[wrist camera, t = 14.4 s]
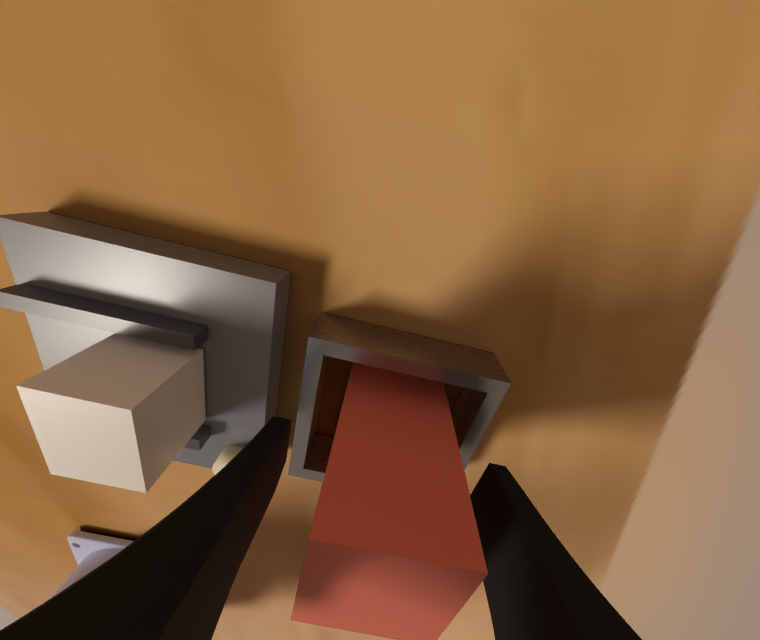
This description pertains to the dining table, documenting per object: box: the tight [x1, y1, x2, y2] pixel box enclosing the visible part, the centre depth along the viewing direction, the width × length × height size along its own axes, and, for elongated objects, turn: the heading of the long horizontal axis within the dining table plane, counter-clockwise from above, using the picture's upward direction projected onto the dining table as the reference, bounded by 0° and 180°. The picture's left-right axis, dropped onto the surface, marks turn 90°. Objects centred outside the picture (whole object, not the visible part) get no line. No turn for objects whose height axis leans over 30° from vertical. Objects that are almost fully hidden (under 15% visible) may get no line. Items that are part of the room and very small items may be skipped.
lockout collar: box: [288, 313, 511, 482], centre depth 12 cm, size 7×7×2 cm
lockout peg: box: [291, 362, 488, 640], centre depth 10 cm, size 4×4×7 cm
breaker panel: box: [0, 212, 291, 475], centre depth 12 cm, size 10×9×2 cm
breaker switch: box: [16, 333, 206, 493], centre depth 10 cm, size 4×3×3 cm
